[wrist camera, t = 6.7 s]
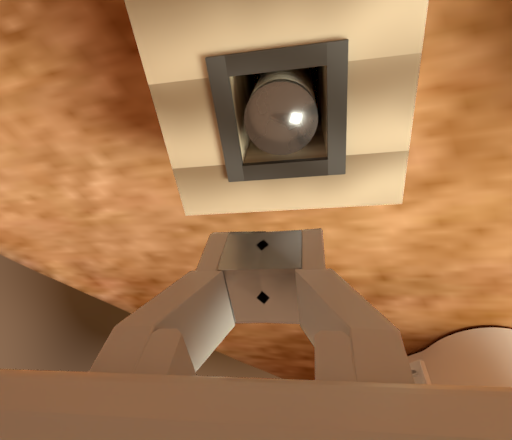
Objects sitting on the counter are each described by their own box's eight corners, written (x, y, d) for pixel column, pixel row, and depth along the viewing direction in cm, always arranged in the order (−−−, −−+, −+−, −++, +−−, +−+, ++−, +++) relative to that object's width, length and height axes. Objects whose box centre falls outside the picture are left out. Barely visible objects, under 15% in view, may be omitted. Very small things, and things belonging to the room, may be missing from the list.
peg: (311, 104, 27) (318, 152, 19) (262, 108, 28) (249, 157, 20) (309, 49, 25) (317, 77, 17) (257, 56, 26) (238, 86, 17)
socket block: (371, 143, 29) (403, 207, 20) (214, 156, 31) (184, 218, 23) (399, -270, 17) (503, -534, 8) (140, -204, 19) (15, -362, 11)
